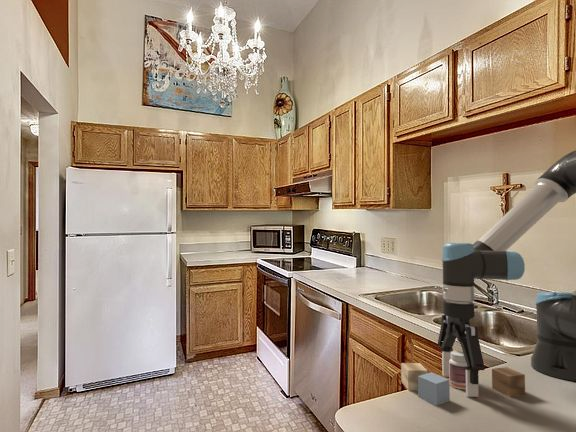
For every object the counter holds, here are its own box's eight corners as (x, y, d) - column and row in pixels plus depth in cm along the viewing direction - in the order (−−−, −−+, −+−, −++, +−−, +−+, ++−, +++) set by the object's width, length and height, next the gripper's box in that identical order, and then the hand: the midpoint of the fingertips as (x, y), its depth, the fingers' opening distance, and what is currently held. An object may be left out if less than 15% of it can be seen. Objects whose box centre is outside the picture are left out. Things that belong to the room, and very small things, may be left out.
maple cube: (419, 382, 92) (419, 363, 93) (427, 390, 87) (427, 370, 88) (401, 382, 92) (401, 363, 92) (408, 390, 87) (408, 370, 87)
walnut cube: (507, 386, 90) (506, 367, 91) (525, 395, 86) (524, 374, 86) (492, 388, 89) (491, 368, 89) (509, 397, 84) (509, 376, 85)
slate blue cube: (431, 392, 86) (431, 372, 87) (449, 400, 82) (449, 379, 82) (418, 397, 84) (418, 376, 84) (436, 406, 79) (436, 383, 80)
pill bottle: (472, 391, 87) (471, 357, 88) (452, 389, 88) (451, 355, 89) (466, 383, 92) (466, 351, 92) (447, 381, 93) (447, 349, 93)
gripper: (425, 293, 103) (425, 367, 102) (469, 310, 79) (470, 407, 78) (449, 293, 103) (450, 367, 102) (501, 311, 80) (502, 408, 78)
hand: (459, 385), depth 90 cm, fingers open, 11 cm apart
